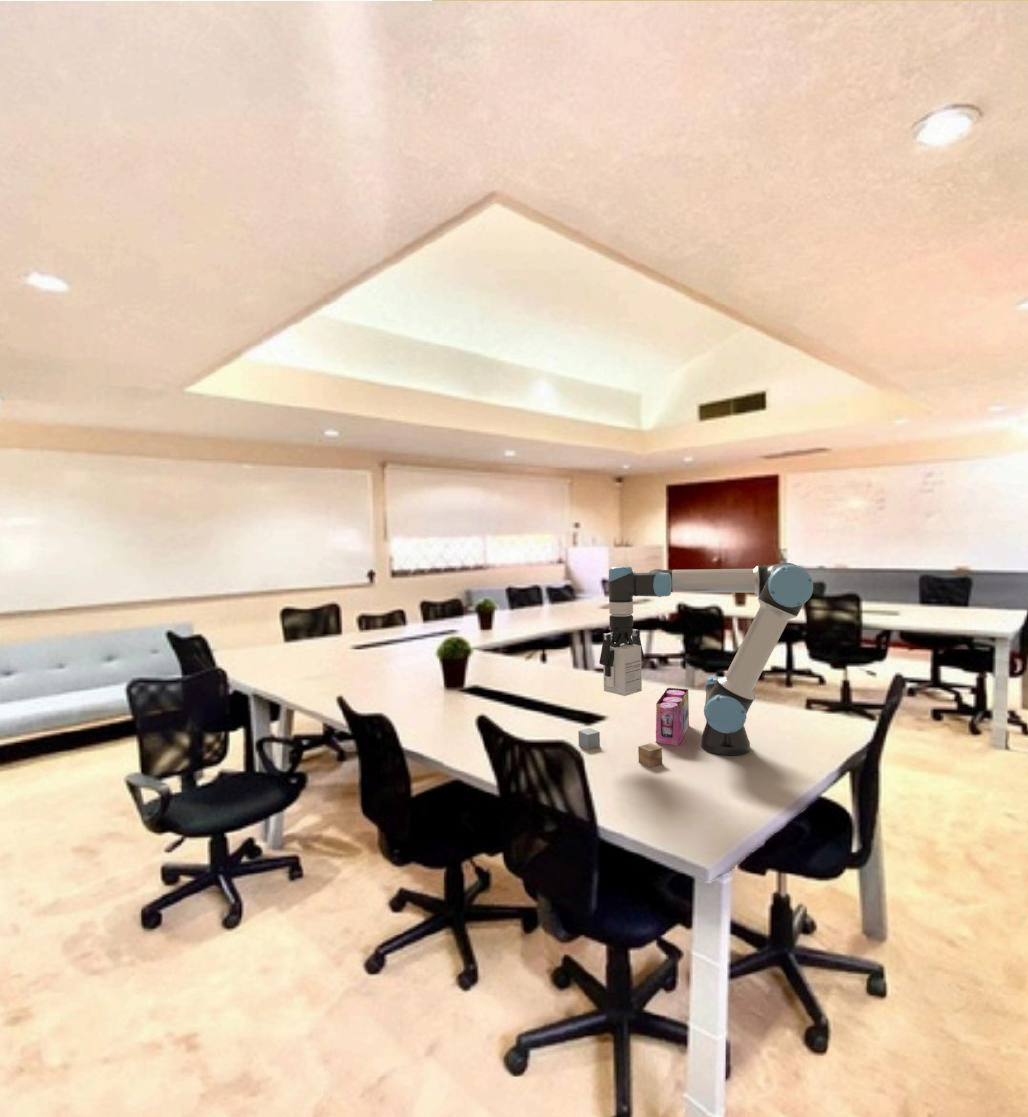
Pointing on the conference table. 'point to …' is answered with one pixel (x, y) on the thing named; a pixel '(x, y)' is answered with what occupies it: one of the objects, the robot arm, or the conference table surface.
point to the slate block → (589, 738)
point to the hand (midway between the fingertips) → (622, 683)
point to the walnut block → (650, 755)
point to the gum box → (672, 716)
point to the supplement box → (625, 670)
